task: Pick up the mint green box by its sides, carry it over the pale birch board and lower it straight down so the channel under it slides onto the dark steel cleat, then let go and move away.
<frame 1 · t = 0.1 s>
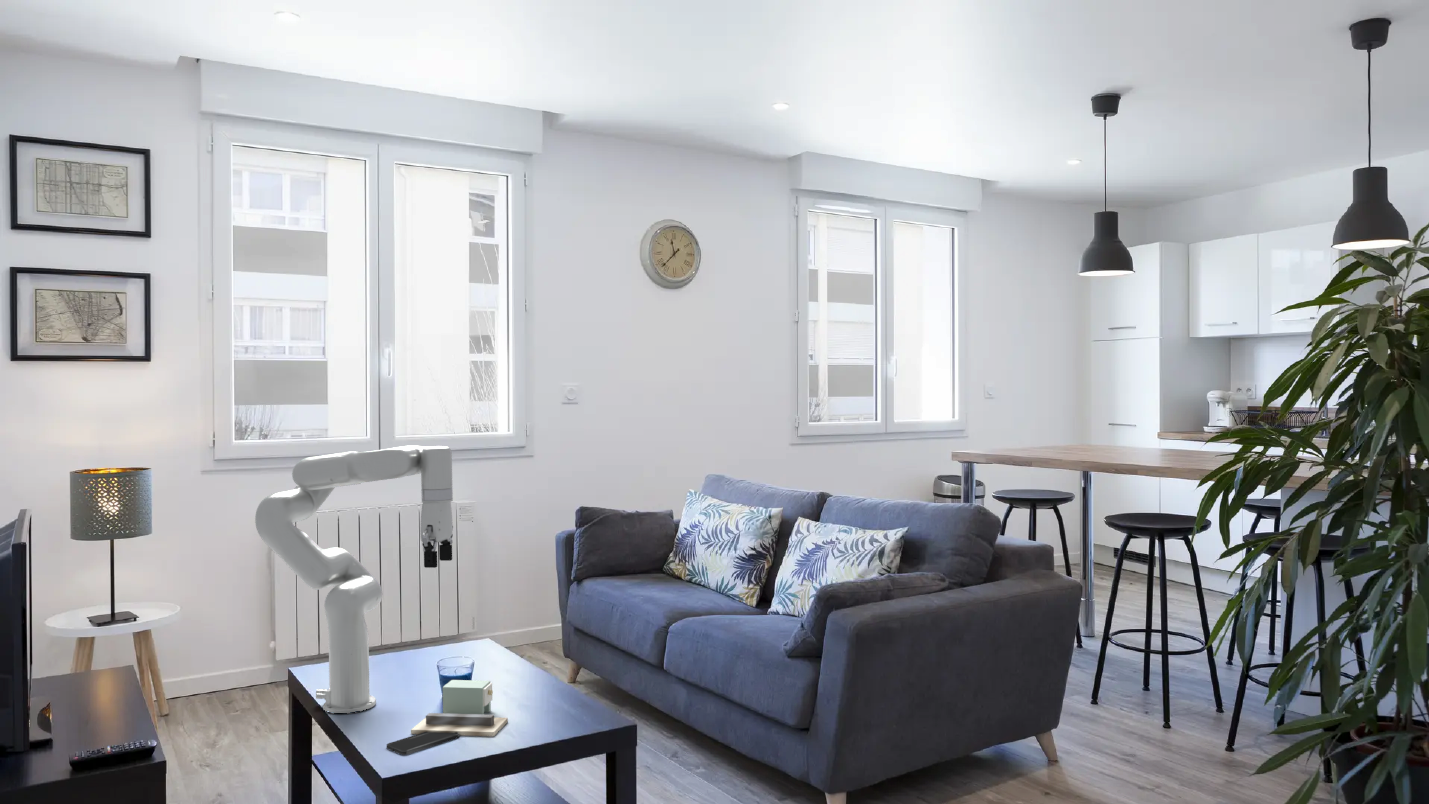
hand: (438, 563, 250), 37 cm above the table, tool pointing down, fingers open, 9 cm apart
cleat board: (460, 727, 237), on the table
mint green box: (467, 714, 247), on the table
phone: (423, 744, 227), on the table
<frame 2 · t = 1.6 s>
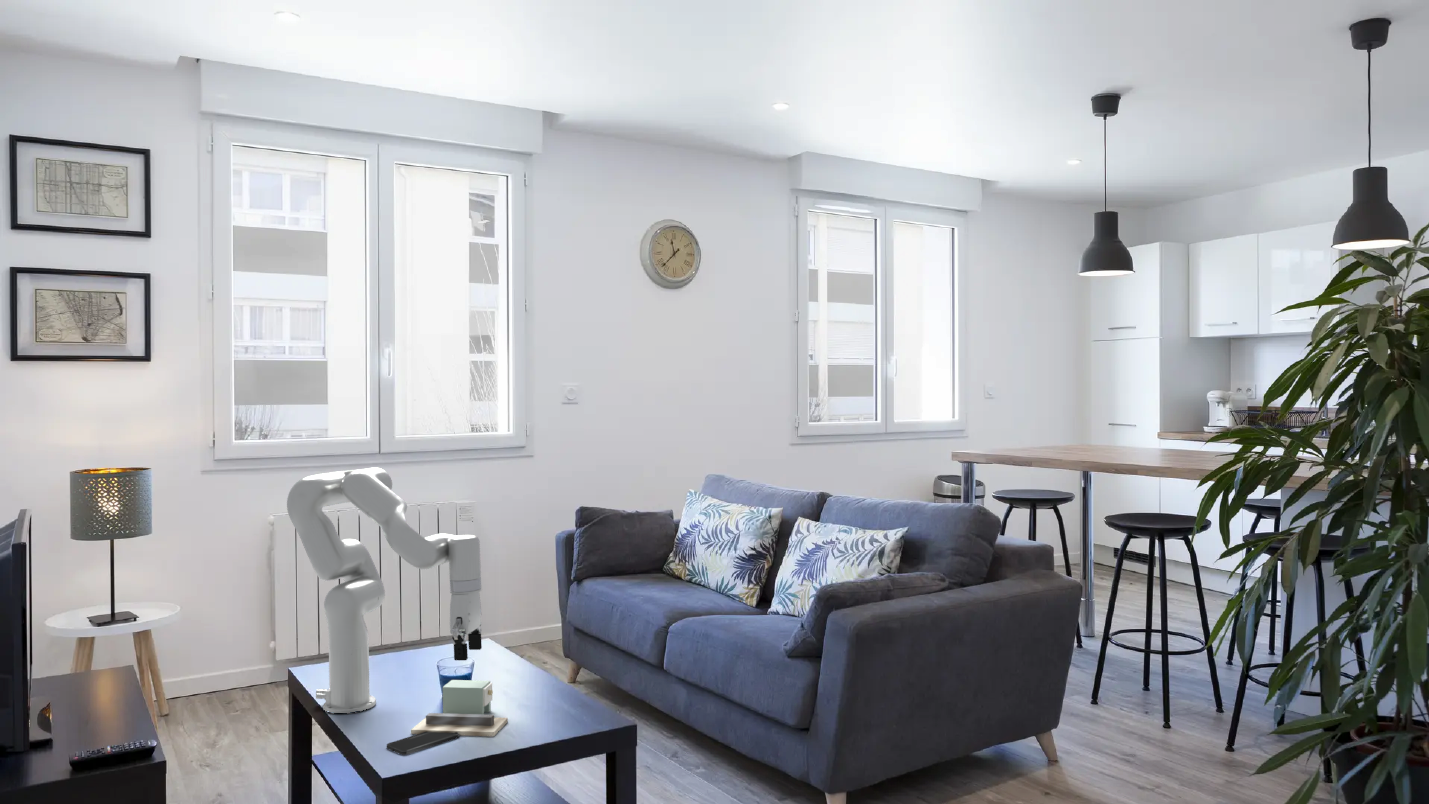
hand: (468, 654, 247), 15 cm above the table, tool pointing down, fingers open, 9 cm apart
nothing on the table moved.
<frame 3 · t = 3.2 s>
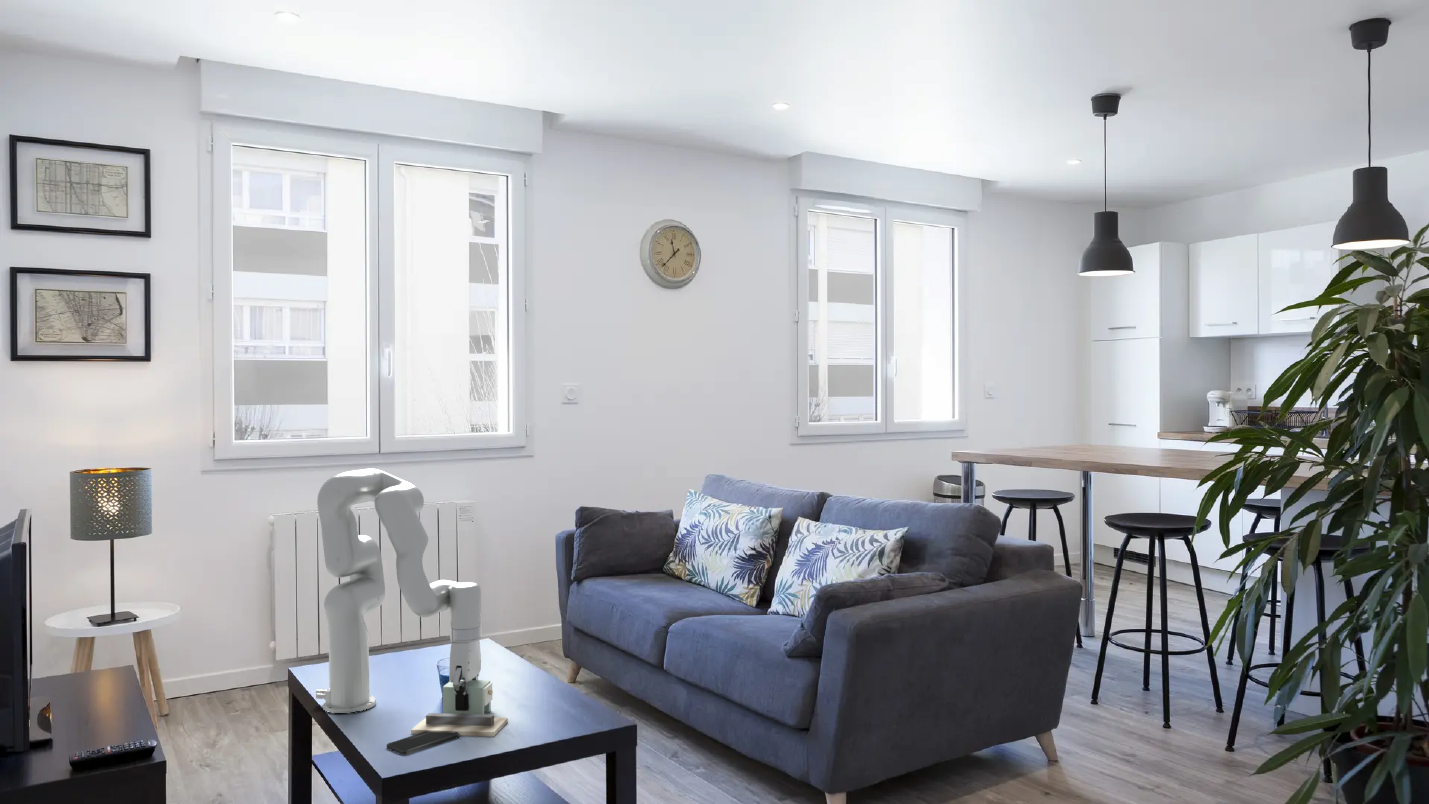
hand: (467, 705, 247), 2 cm above the table, tool pointing down, fingers closed on mint green box, 6 cm apart
mint green box: (467, 713, 247), on the table, touching gripper
everything else where it was.
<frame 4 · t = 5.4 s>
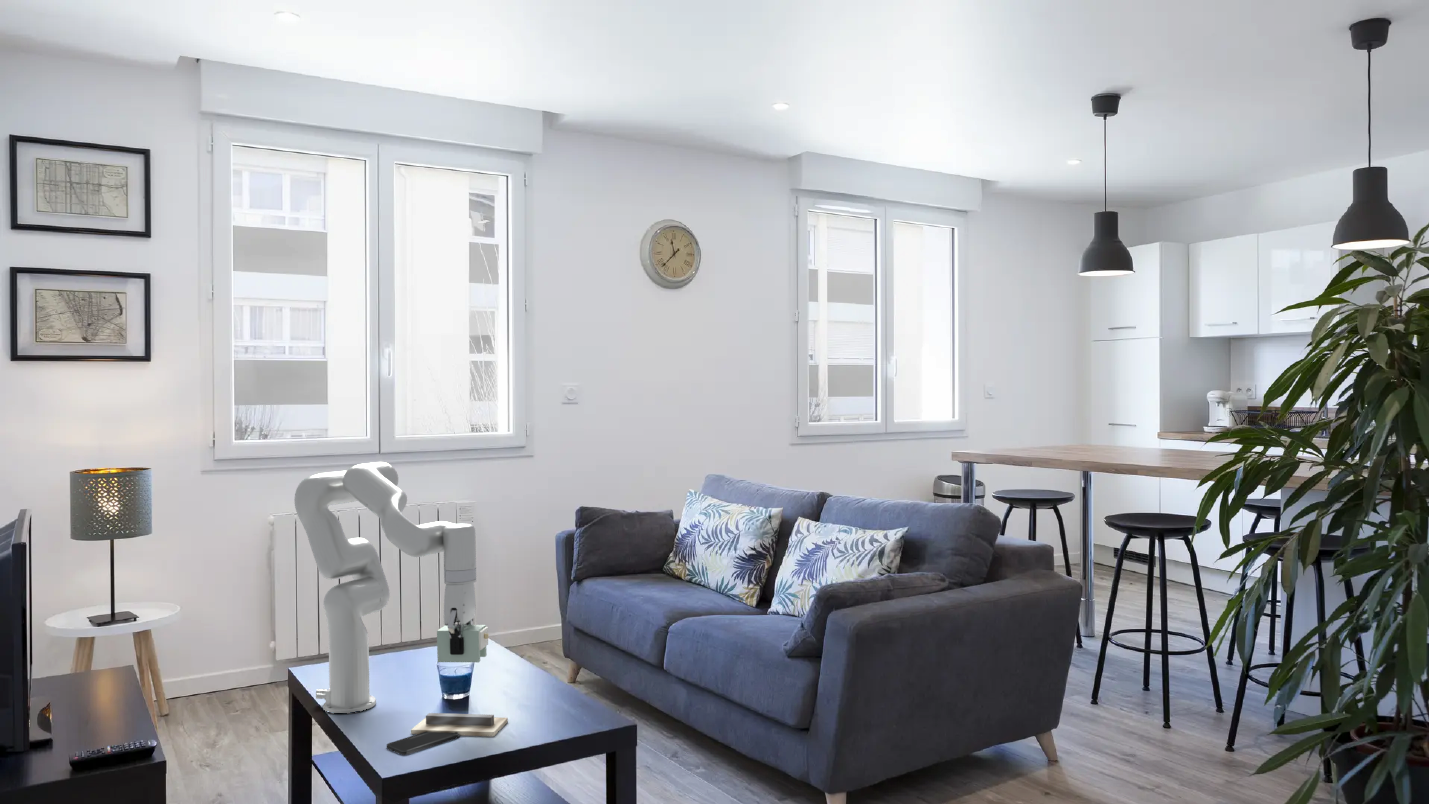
hand: (461, 649, 240), 18 cm above the table, tool pointing down, fingers closed on mint green box, 6 cm apart
mint green box: (462, 658, 240), point 16 cm above the table, touching gripper
everything else where it was.
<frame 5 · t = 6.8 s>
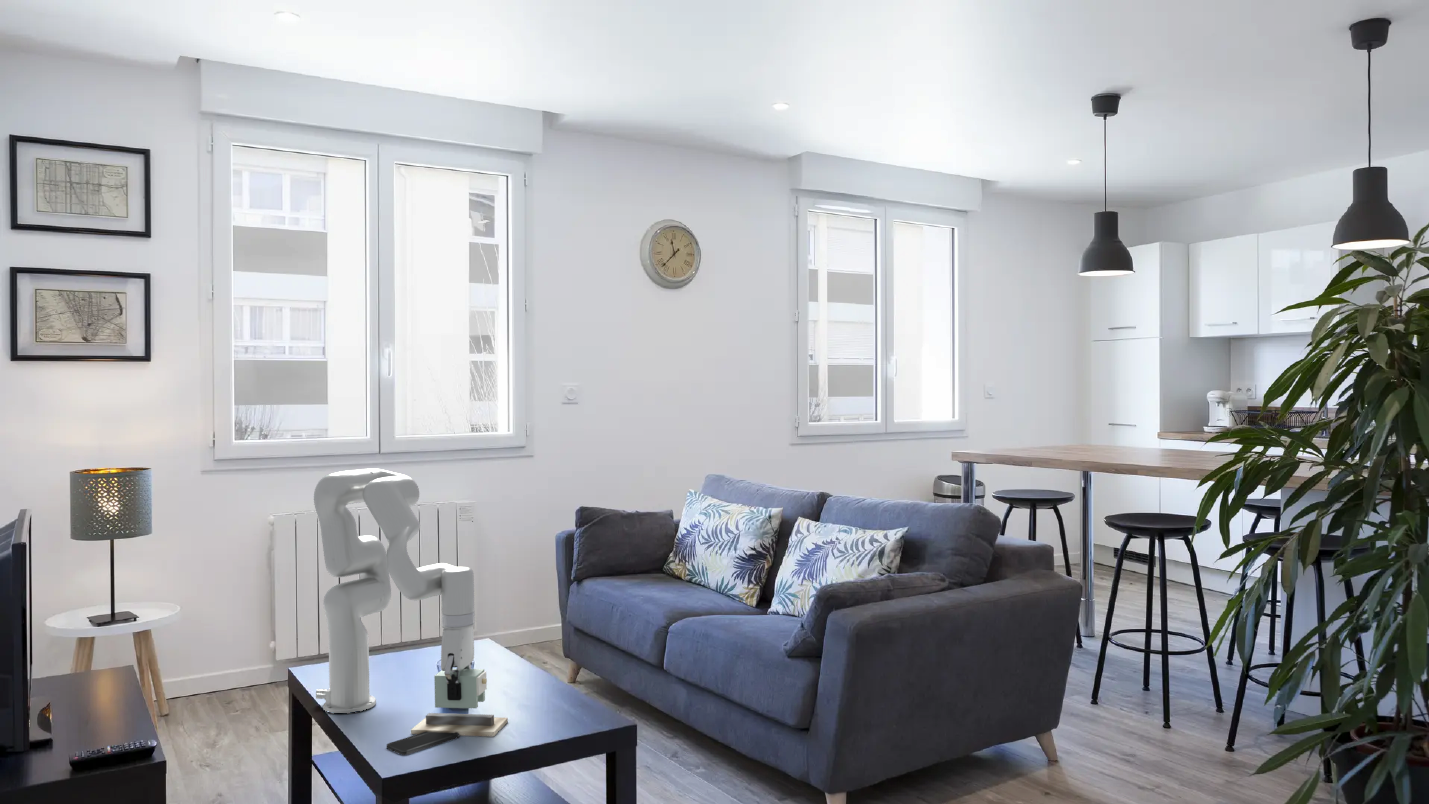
hand: (459, 694, 237), 8 cm above the table, tool pointing down, fingers closed on mint green box, 6 cm apart
mint green box: (460, 703, 237), point 6 cm above the table, touching gripper
everything else where it was.
when the fingers open (4 cm above the table, at t = 8.0 s): mint green box stays where it is, resting on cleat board.
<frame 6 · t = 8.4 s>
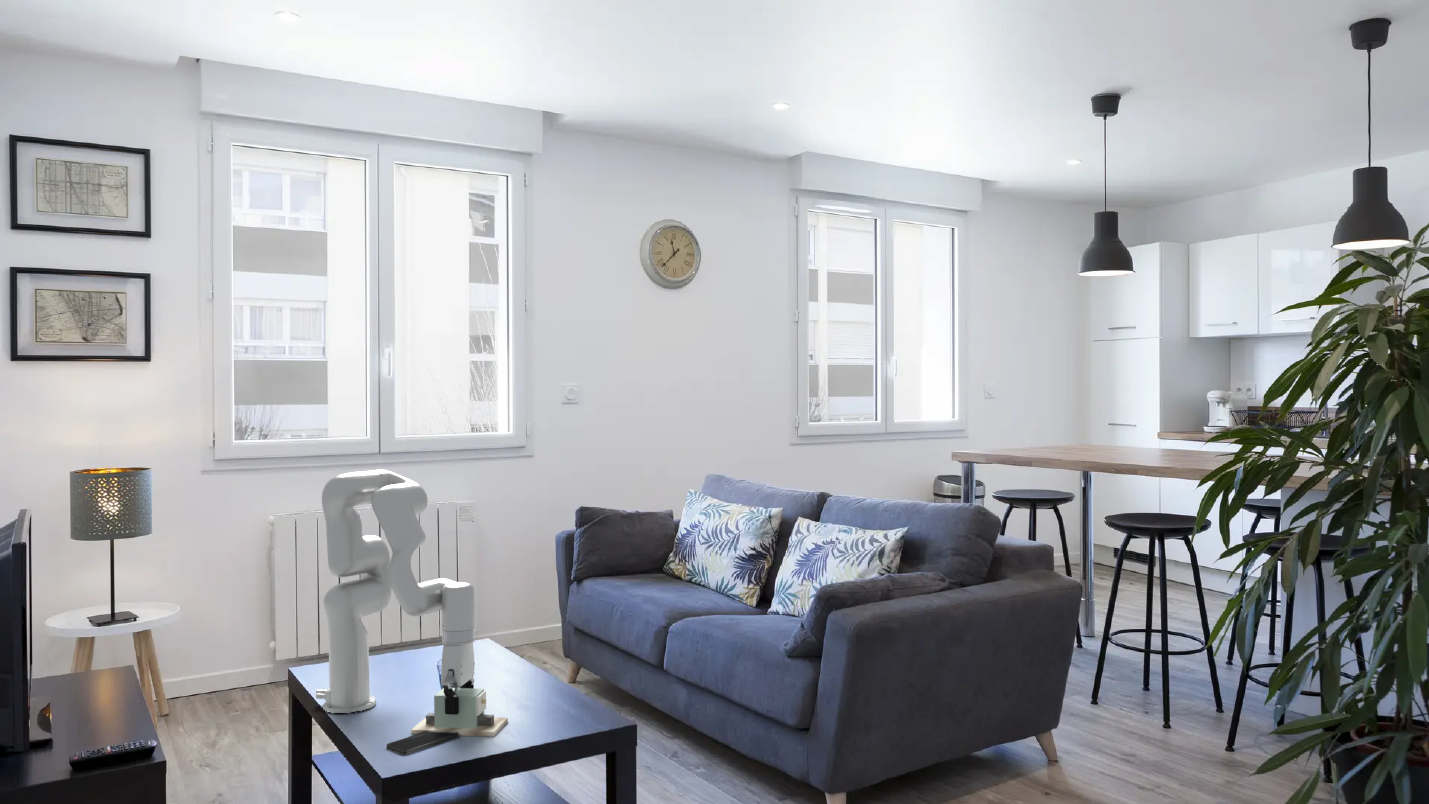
hand: (459, 707, 237), 5 cm above the table, tool pointing down, fingers open, 9 cm apart
mint green box: (459, 723, 237), point 1 cm above the table, touching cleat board
everything else where it was.
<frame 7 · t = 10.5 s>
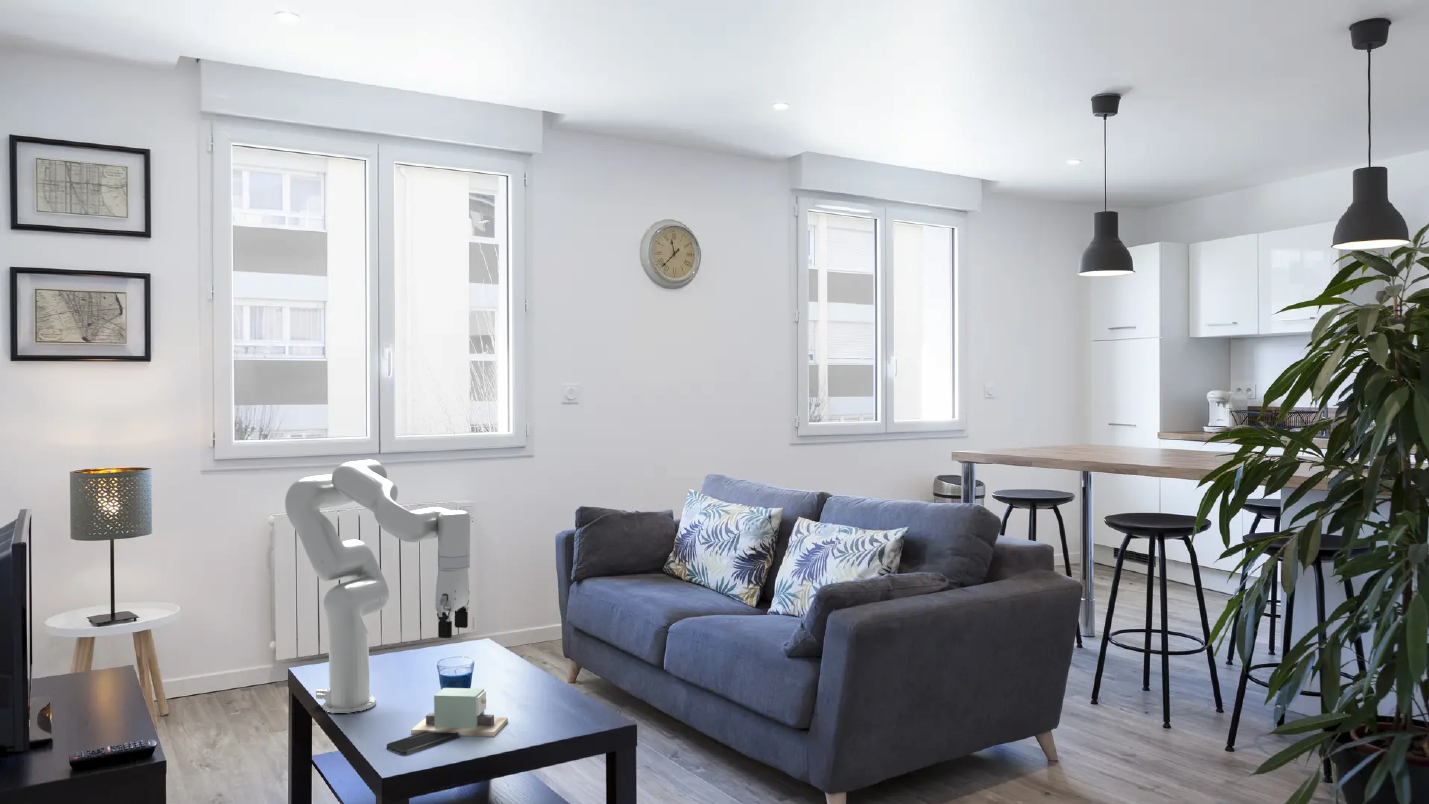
hand: (453, 632, 241), 22 cm above the table, tool pointing down, fingers open, 9 cm apart
nothing on the table moved.
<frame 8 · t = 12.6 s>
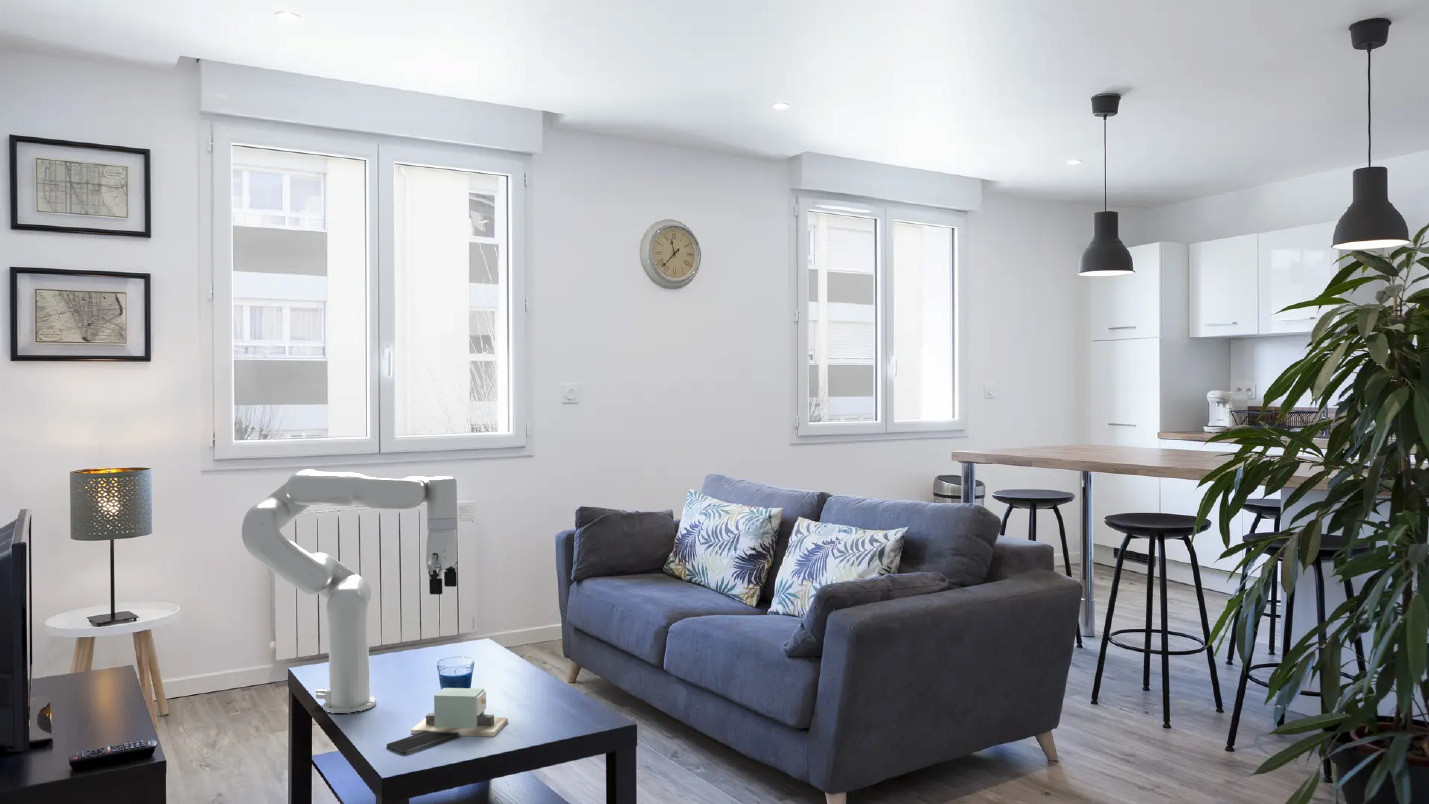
hand: (443, 590, 259), 28 cm above the table, tool pointing down, fingers open, 9 cm apart
nothing on the table moved.
at the end: mint green box 0.1 cm off-centre on the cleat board, point 1.0 cm above the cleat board's base; mint green box tilted 0°; the gripper is holding nothing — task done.
